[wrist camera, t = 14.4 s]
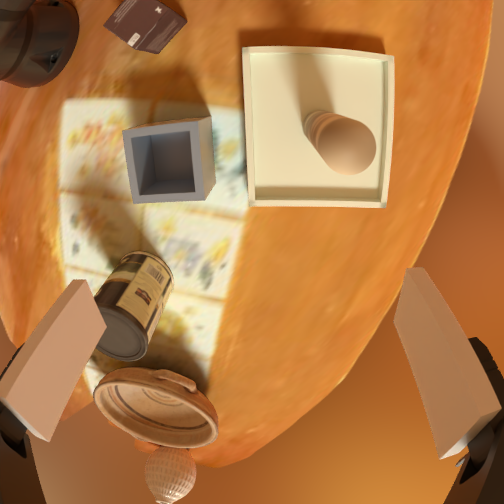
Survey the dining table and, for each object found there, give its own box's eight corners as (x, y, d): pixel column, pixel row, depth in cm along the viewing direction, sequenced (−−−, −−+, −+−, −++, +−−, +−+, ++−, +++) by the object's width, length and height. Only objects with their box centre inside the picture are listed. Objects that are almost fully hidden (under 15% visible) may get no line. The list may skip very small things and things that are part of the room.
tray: (244, 50, 31) (241, 47, 29) (386, 58, 29) (393, 56, 27) (250, 199, 41) (248, 206, 38) (379, 201, 39) (385, 208, 37)
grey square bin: (145, 123, 36) (122, 130, 30) (211, 116, 35) (198, 120, 29) (153, 186, 40) (133, 203, 34) (215, 182, 40) (205, 200, 34)
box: (158, 0, 27) (135, -15, 21) (189, 22, 29) (171, 8, 23) (128, 33, 30) (101, 25, 23) (157, 56, 31) (134, 50, 25)
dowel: (302, 109, 33) (320, 117, 20) (338, 110, 33) (377, 121, 20) (302, 143, 35) (319, 174, 22) (337, 144, 35) (374, 176, 22)
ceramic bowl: (123, 311, 53) (102, 348, 44) (256, 370, 58) (253, 412, 49) (100, 392, 70) (88, 420, 61) (193, 431, 75) (187, 460, 66)
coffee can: (114, 287, 50) (79, 342, 38) (123, 241, 45) (79, 294, 33) (166, 310, 52) (141, 371, 39) (181, 266, 47) (153, 327, 34)
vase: (205, 446, 80) (195, 507, 61) (194, 459, 88) (184, 512, 68) (155, 431, 78) (139, 491, 58) (150, 446, 86) (136, 498, 66)
